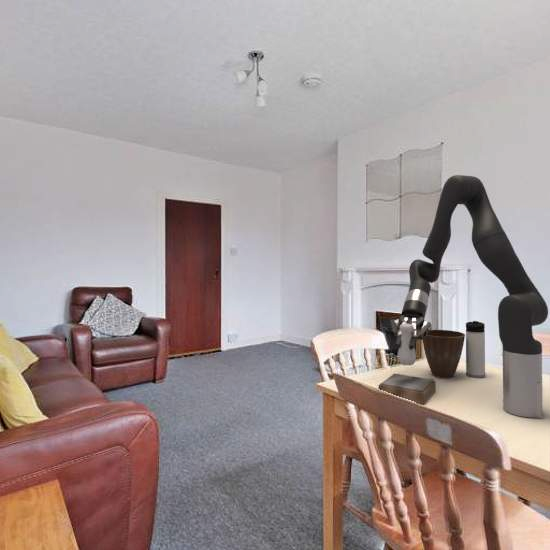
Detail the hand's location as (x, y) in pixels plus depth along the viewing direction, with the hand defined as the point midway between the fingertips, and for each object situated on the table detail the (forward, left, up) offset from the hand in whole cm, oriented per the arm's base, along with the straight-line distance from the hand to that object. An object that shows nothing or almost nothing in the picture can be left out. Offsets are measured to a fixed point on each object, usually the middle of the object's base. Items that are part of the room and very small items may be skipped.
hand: (404, 347), depth 118 cm
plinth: (0, -2, -16) cm, 16 cm away
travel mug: (-15, -35, -16) cm, 41 cm away
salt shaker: (0, -2, -6) cm, 6 cm away
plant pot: (-5, -29, -16) cm, 33 cm away
